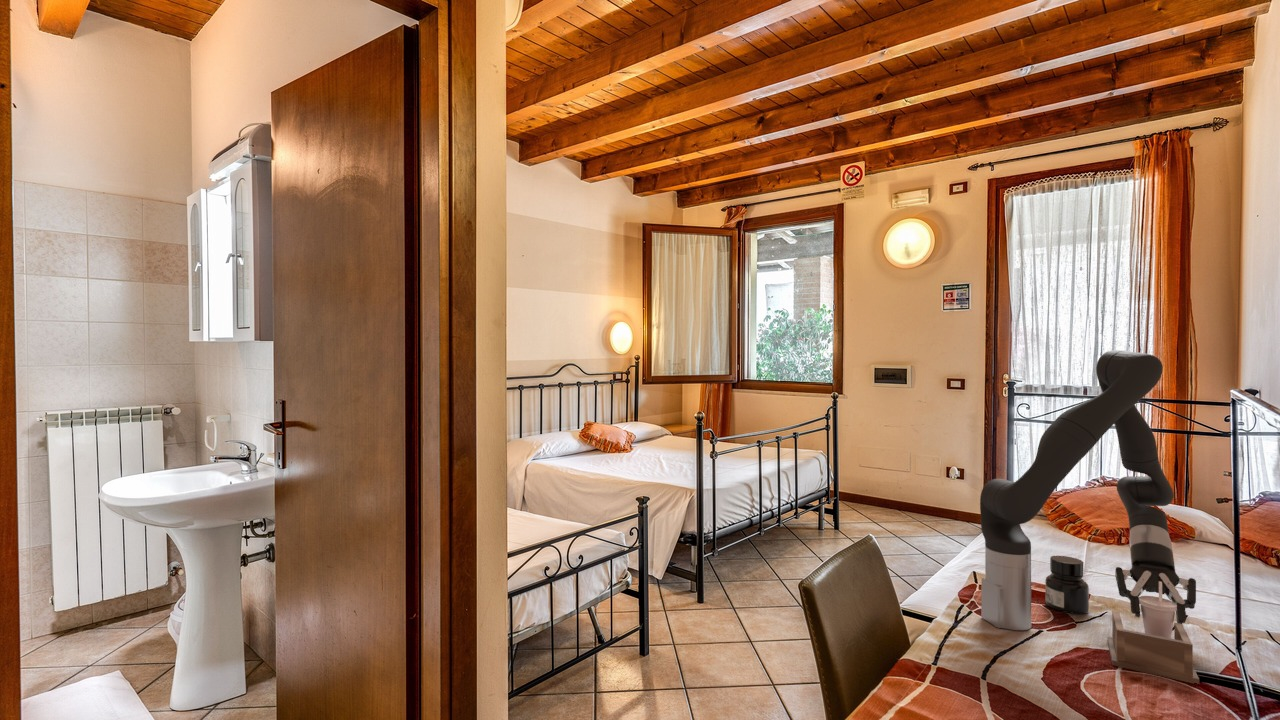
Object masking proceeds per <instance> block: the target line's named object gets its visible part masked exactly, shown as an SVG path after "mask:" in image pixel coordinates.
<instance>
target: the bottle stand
mask: <svg viewBox="0 0 1280 720" xmlns="http://www.w3.org/2000/svg"><path fill="white" fill-rule="evenodd" d="M1111 612H1112V613H1111V620H1112V621H1111V624H1112V625H1111V626H1112V629H1111V633H1112V634H1111V635H1112V636H1107V646H1108V650H1109V655H1110V659H1111V660H1110V661H1111V666H1114V667H1119V668H1124V669H1128V670H1133V671H1136V672H1142V673H1146V674H1150V675H1154V676H1159V677H1164V678H1168V679H1172V680H1177V681H1182V682H1186V683H1191V684H1194V683H1197V684H1196V685H1198V684H1199V685H1200V677H1199V676H1198V674H1197V671H1196V669H1195V667H1194V662H1193V661H1194V658H1193V657H1194V656H1193V653H1194V650H1193V649H1194V647H1193V643H1192V641H1191V639H1190V637H1189V635H1188V633H1187V631H1186V628H1185V627H1184V625H1183V623H1182V624H1179V623H1177V622H1173V627H1174V634H1173V635H1174V638H1172V637H1171V638H1166V637H1161V636H1156V635H1150V634H1145V632H1139V631H1136V630H1135V631H1133V630H1129V629H1125V628H1124V624H1123V621H1122V617H1121V614H1120V612H1119V611H1114V610H1113V611H1111Z"/></svg>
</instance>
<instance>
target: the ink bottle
mask: <svg viewBox="0 0 1280 720" xmlns="http://www.w3.org/2000/svg"><path fill="white" fill-rule="evenodd" d="M1049 562H1050V563H1049V564H1050V566H1049V569H1050V574H1049V575H1047V576H1046V577H1045V582H1044V583H1045V591H1044V592H1045V603H1046V605H1047V606H1048V607H1050V608H1051V609H1053V610H1056V611H1059V612H1063V613H1069V614H1076V615H1077V614H1078V615H1083V614H1087V613H1089V611H1090V610H1089V609H1090V606H1089V605H1090V602H1089V601H1090V595H1089V594H1090V591H1089V590H1090V589H1089V585H1088V583H1087V582H1086V581H1085V580H1084V579H1083V578H1084V561H1083V560H1081V559H1079V558H1076V557H1072V556H1066V555H1052V556H1050V560H1049Z"/></svg>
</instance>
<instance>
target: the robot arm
mask: <svg viewBox="0 0 1280 720" xmlns="http://www.w3.org/2000/svg"><path fill="white" fill-rule="evenodd" d="M1095 366H1096V368H1095V369H1096V370H1095V371H1096V372H1095V373H1096V378H1097V380H1098V384H1099V386H1100V389H1101V391H1102V393H1100V394H1098V395H1096V396H1094V397H1093V398H1091V399H1088V400H1086V401H1084V402H1081V403H1079V404H1077V405H1075V406H1073V407H1070V408H1069V409H1067V410H1066V411H1064V412H1062V413H1061V414H1060V415H1058V416H1057V418H1056V419H1055V420H1054V421H1052V423H1051V424H1050V425H1049V426H1048V427H1047V429H1046V430H1045V431H1044V432H1043V434H1042V435H1041V437H1040V440H1039V443H1038V447H1037V449H1036V450H1037V451H1036V455H1035V459H1034V461H1033V463H1032V464H1031V465H1030V467H1029V468H1028V469H1027V470H1026V471H1025V472H1024V473H1023V475H1021V476H1020V477H1019V478H1018V479H1017V480H1016V481H1012V480H1009V479H1003V478H993V479H990V480H989V481H987V482H986V483H985V484H984V486H983V487H982V489H981V492H980V495H979V497H980V498H979V506H980V507H979V511H980V526H981V527H980V528H981V533H982V536H983V539H984V543H985V544H984V548H985V549H984V550H985V551H984V553H985V557H984V558H985V559H984V565H985V567H984V568H985V570H984V571H985V574H984V575H985V577H982V578H981V580H980V582H981V583H980V584H981V585H980V586H981V587H980V588H981V590H980V591H981V592H980V593H981V594H980V595H981V597H980V598H981V602H980V603H981V610H980V611H981V612H980V614H981V616H980V617H981V619H983V620H985V621H987V622H989V624H991V625H992V626H994V627H996V628H998V629H1006V630H1011V631H1012V630H1013V631H1026V630H1027V631H1028V630H1030V629H1031V628H1032V543H1031V540H1030V539H1029V537H1028V535H1026V534H1025V532H1024V531H1023V529H1022V527H1021V525H1022V524H1026V523H1028V522H1030V521H1032V519H1034V518H1035V517H1036V516H1037V515H1038V514H1039V512H1040V511H1041V510H1042V508H1043V507H1044V506H1045V504H1046V503H1047V501H1048V500H1049V498H1050V497H1051V495H1052V494H1053V493H1054V491H1055V490H1056V489H1057V488H1058V487H1059V485H1060V484H1061V483H1062V481H1063V480H1064V479H1066V477H1067V476H1068V475H1069V474H1070V472H1071V471H1072V470H1073V469H1074V467H1076V466H1077V464H1078V463H1079V462H1080V461H1081V460H1082V459H1083V458H1084V457H1085V456H1086V455H1087V454H1088V453H1089V452H1090V451H1091V450H1092V449H1093V447H1095V445H1096V444H1097V443H1098V442H1099V441H1100V440H1101V438H1102V437H1103V436H1104V435H1105V434H1106V432H1108V431H1109V429H1111V428H1112V426H1113V425H1114V427H1115V432H1116V435H1117V441H1118V442H1117V443H1118V448H1119V453H1120V459H1121V465H1122V466H1123V468H1124V469H1126V470H1128V471H1130V472H1134V473H1138V474H1139V473H1140V474H1143V475H1146V476H1138V475H1137V476H1133V475H1132V476H1129V475H1128V476H1123V477H1121V478H1120V479H1119V480H1118V481H1117V484H1116V493H1117V494H1118V496H1119V498H1120V500H1121V502H1122V504H1123V506H1124V507H1125V510H1126V512H1127V516H1128V525H1129V537H1128V538H1129V545H1128V546H1129V551H1130V561H1131V567H1130V569H1123V568H1122V567H1120V566H1117V567H1116V566H1115V571H1114V576H1115V580H1116V581H1115V582H1116V585H1117V590H1118V594H1119V596H1120V597H1122V598H1127V599H1128V600H1129V603H1130V605H1129V606H1130V612H1131V614H1133V615H1135V617H1136V618H1140V616H1141V605H1140V604H1139V597H1140V596H1142V595H1143V592H1144V591H1145V592H1148V593H1157V594H1159V581H1160V582H1162V595H1165V596H1166V597H1167V598H1168V600H1170V601H1172V602H1174V603H1175V604H1176V605H1177V610H1176V611H1175V617H1176V623H1179V624H1182V625H1183V624H1185V623H1186V621H1187V612H1186V609H1191V610H1193V609H1195V606H1196V604H1197V581H1196V579H1195V578H1192V577H1189V578H1188V579H1187V578H1183V577H1180V576H1179V575H1178V574H1177V573H1176V567H1175V559H1174V553H1173V544H1172V539H1171V538H1170V532H1169V525H1168V520H1167V516H1166V514H1165V512H1164V511H1163V510H1161V509H1159V508H1156V507H1166V506H1169V505H1170V504H1171V503H1172V502H1173V500H1174V496H1175V495H1174V490H1173V488H1172V486H1171V484H1170V481H1169V480H1168V478H1167V476H1166V475H1165V473H1164V470H1163V469H1162V467H1161V464H1160V460H1159V455H1158V454H1159V453H1158V447H1157V441H1156V437H1155V435H1154V432H1153V430H1152V428H1151V427H1150V426H1149V424H1148V422H1147V421H1146V420H1145V418H1144V416H1143V414H1141V413H1140V411H1139V409H1138V408H1137V406H1136V404H1137V403H1138V402H1139V401H1140V400H1141V399H1143V398H1144V397H1145V396H1146V395H1148V394H1149V393H1150V392H1151V391H1152V390H1153V389H1154V387H1156V385H1157V384H1158V383H1159V381H1160V380H1161V377H1162V376H1163V375H1162V374H1163V370H1164V369H1163V363H1162V361H1161V359H1160V358H1158V357H1157V356H1155V355H1153V354H1150V353H1145V352H1137V351H1136V352H1135V351H1127V350H1118V349H1115V350H1114V349H1113V350H1109V351H1106V352H1104V353H1103V354H1102V355H1101V356H1100V357H1099V358H1098V361H1097V362H1096V365H1095ZM1153 506H1154V507H1153ZM1128 577H1130V578H1131V579H1132V580H1133V581H1134V582H1135V584H1134V587H1133V588H1132V589H1131V590H1130V589H1128V587H1127V584H1126V580H1128ZM1178 584H1180V585H1181V586H1182V588H1183V590H1184V591H1186V598H1185V599H1184V598H1183V597H1182V595H1180V593H1179V591H1178V589H1177V588H1176V586H1178Z"/></svg>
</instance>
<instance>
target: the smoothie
mask: <svg viewBox="0 0 1280 720" xmlns="http://www.w3.org/2000/svg"><path fill="white" fill-rule="evenodd" d="M1139 605H1140V612H1141V615H1142V624H1143V628H1144V629H1143V630H1144V633H1145V634H1150V635H1156V636H1161V637H1166V638H1171V639H1172V633H1173V627H1174V622H1175V621H1174V620H1175V616H1176V610H1177V605H1176V604H1175V603H1174V602H1172V601H1171V600H1170V599H1166V598H1163V594H1162V582H1160V581H1159V593H1158V596H1152V595H1140V596H1139Z"/></svg>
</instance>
